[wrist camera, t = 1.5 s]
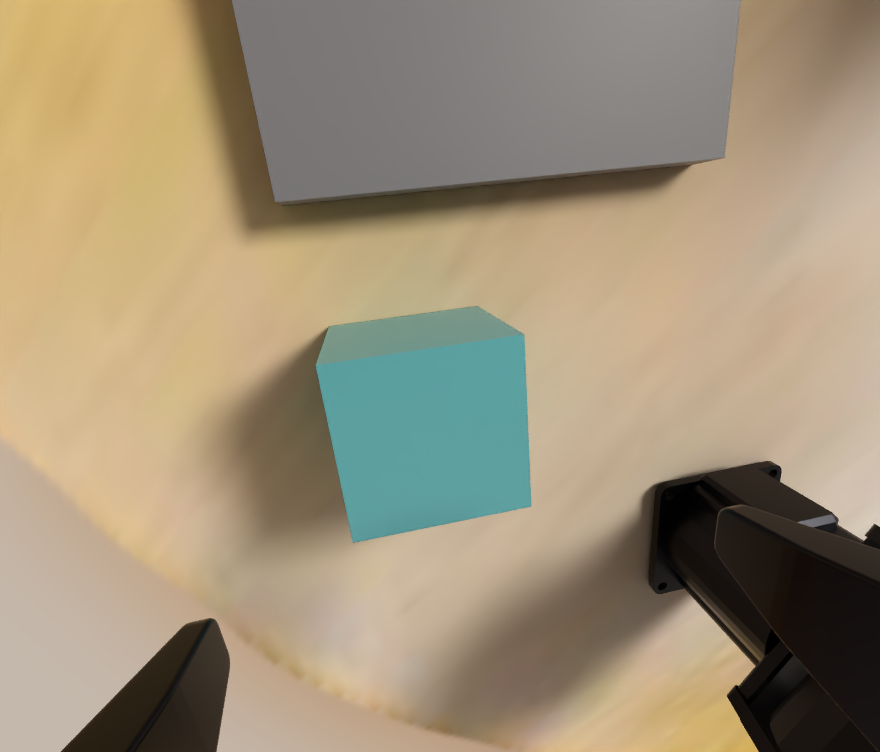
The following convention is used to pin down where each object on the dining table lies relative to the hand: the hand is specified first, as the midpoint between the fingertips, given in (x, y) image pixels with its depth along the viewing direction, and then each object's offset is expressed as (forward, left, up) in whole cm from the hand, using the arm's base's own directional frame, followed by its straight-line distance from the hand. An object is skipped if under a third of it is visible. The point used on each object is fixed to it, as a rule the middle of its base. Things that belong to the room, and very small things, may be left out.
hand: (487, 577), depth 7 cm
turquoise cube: (0, 0, -10) cm, 10 cm away
